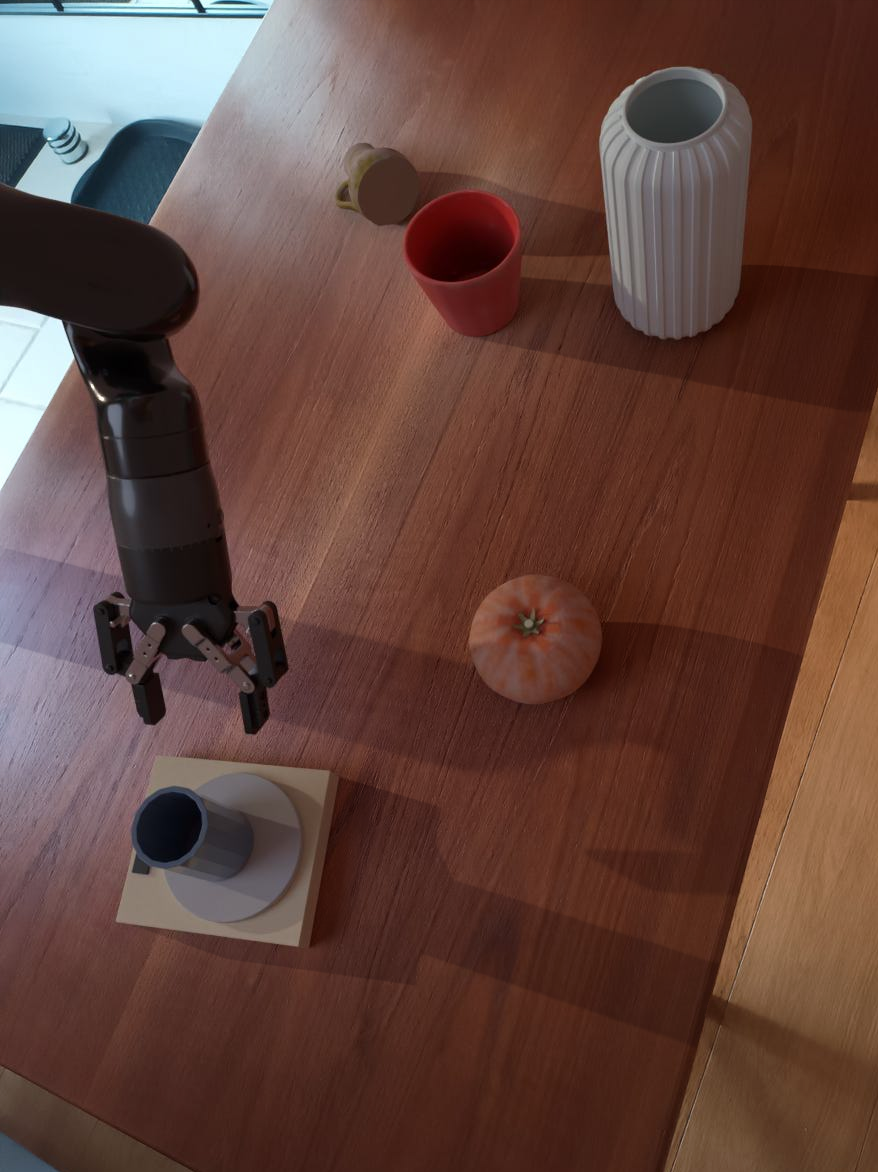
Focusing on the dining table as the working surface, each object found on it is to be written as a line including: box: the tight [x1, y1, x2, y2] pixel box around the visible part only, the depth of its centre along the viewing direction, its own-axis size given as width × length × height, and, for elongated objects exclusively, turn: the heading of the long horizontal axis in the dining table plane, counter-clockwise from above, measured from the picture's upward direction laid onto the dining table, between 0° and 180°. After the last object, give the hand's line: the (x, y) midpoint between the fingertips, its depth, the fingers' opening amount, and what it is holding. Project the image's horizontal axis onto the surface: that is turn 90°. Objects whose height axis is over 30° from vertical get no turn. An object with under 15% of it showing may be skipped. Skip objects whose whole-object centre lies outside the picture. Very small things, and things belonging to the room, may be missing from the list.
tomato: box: [468, 574, 603, 705], centre depth 80 cm, size 11×11×8 cm
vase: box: [598, 65, 753, 341], centre depth 83 cm, size 12×12×22 cm
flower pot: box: [401, 189, 523, 338], centre depth 93 cm, size 11×11×10 cm
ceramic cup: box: [130, 786, 254, 882], centre depth 76 cm, size 6×6×8 cm
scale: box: [115, 754, 340, 949], centre depth 82 cm, size 16×14×3 cm
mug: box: [333, 142, 421, 227], centre depth 102 cm, size 8×10×10 cm
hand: (205, 724), depth 77 cm, fingers open, 8 cm apart
